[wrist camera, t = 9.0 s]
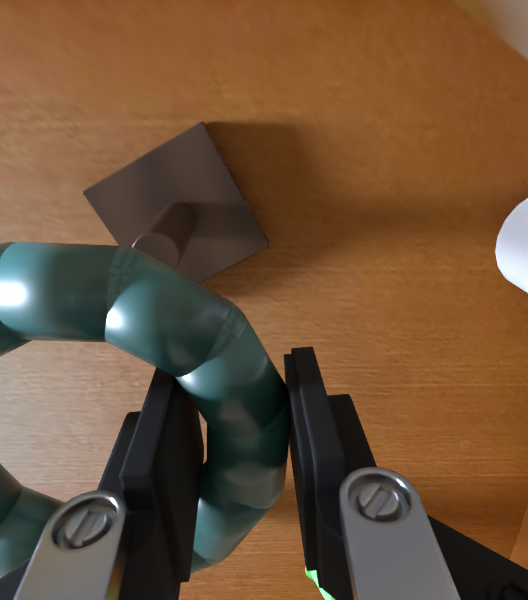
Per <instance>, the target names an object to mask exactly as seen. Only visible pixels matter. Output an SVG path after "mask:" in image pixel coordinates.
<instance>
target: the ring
mask: <svg viewBox="0 0 528 600" xmlns="http://www.w3.org/2000/svg"><path fill="white" fill-rule="evenodd" d="M32 340H46V341H81V342H107V343H109V344H111V345H113V346H115V347H117V348H119V349H121V350H123V351H125V352H127V353H129V354H131V355H133V356H135V357H137V358H139V359H141V360H143V361H145V362H147V363H149V364H151V365H153V366H155V367H157V368H159V369H161V370H163V371H165V372H167V373H169V374H171V375H173V376H175V378H176V379H177V381H178V382H179V383H180V385H181V386H182V388H183V389H184V391H185V392H186V393H187V395H188V396H189V398H190V399H191V400H192V402H193V403H194V405H195V406H196V408H197V409H198V410H199V412H200V413H201V415H202V416H203V418H204V419H205V420H206V422H207V460H206V462H205V463H204V464H203V466H202V470H201V485H200V495H199V504H198V512H197V521H196V529H195V538H194V547H193V555H192V564H191V572H190V574H191V573H194V572H196V571H199V570H201V569H204V568H207V567H209V566H212V565H214V564H217V563H219V562H221V561H222V560H224V559H225V558H226V557H228V556H229V555H230V554H231V553H232V552H233V551H234V549H235V548H236V547H237V546H238V545H239V544H240V542H241V541H242V540H243V539H244V538H245V537H246V536H247V534H248V533H249V532H250V531H251V530H252V529H253V528H254V526H255V525H256V524H257V523H258V522H259V521H260V520H261V518H262V517H263V516H264V515H265V514H266V513H267V512H268V510H269V509H270V508H271V507H272V506H273V505H274V504H275V502H276V501H277V500H278V498H279V496H280V495H281V493H282V490H283V487H284V483H285V478H286V467H287V457H288V447H289V436H290V405H289V395H288V389H287V386H286V385H285V383H284V381H283V380H282V378H281V376H280V374H279V373H278V371H277V369H276V368H275V366H274V364H273V362H272V361H271V359H270V357H269V356H268V354H267V352H266V350H265V349H264V347H263V345H262V344H261V342H260V340H259V338H258V337H257V335H256V333H255V332H254V330H253V328H252V326H251V325H250V323H249V321H248V320H247V318H246V316H245V315H244V313H243V312H242V311H241V310H240V309H239V308H238V307H237V306H236V305H235V304H234V303H232V302H231V301H229V300H228V299H226V298H224V297H222V296H221V295H219V294H217V293H215V292H214V291H212V290H210V289H208V288H207V287H205V286H203V285H201V284H200V283H198V282H196V281H194V280H193V279H191V278H189V277H187V276H186V275H184V274H182V273H180V272H179V271H177V270H175V269H173V268H172V267H170V266H168V265H166V264H165V263H163V262H161V261H159V260H158V259H156V258H154V257H152V256H151V255H149V254H147V253H145V252H143V251H141V250H139V249H136V248H132V247H127V246H111V245H87V244H63V243H38V242H7V243H3V244H0V356H2V355H4V354H6V353H8V352H10V351H12V350H14V349H16V348H18V347H20V346H22V345H24V344H26V343H28V342H30V341H32ZM63 504H65V502H62V501H60V500H57V499H55V498H52V497H50V496H47V495H45V494H42V493H40V492H37V491H35V490H32V489H30V488H27V487H25V486H22V485H21V484H20V483H19V482H18V481H17V480H16V479H15V478H14V477H13V476H12V475H11V474H10V473H9V472H8V471H7V470H6V469H5V468H4V467H3V466H2V465H1V464H0V576H2V577H3V576H4V575H6V574H7V573H9V572H10V571H12V570H13V569H14V568H16V567H17V566H19V565H20V564H22V563H23V562H24V561H26V560H27V559H29V558H30V557H31V556H32V555H33V553H34V550H35V548H36V546H37V543H38V541H39V539H40V537H41V534H42V532H43V530H44V527H45V525H46V524H47V522H48V520H49V519H50V517H51V516H52V515H53V514H54V513H55V512H56V510H57V509H58V508H59V507H60V506H62V505H63Z"/></svg>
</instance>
